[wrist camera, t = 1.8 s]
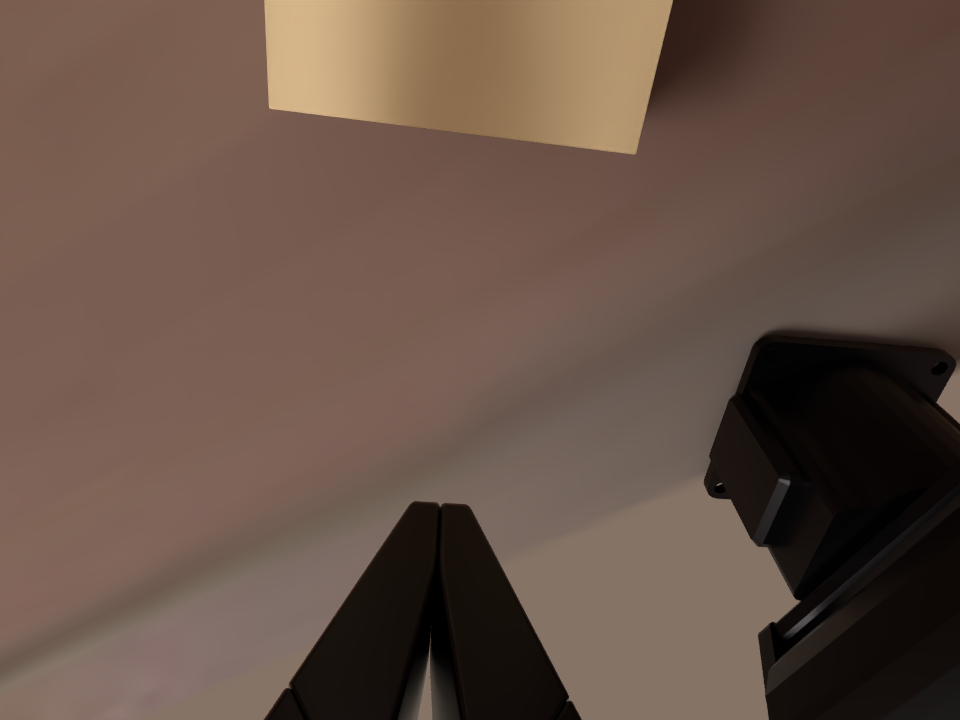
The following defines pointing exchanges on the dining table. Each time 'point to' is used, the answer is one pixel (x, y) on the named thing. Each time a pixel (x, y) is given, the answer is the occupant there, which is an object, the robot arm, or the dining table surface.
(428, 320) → the dining table surface
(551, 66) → the oak block
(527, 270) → the dining table surface
